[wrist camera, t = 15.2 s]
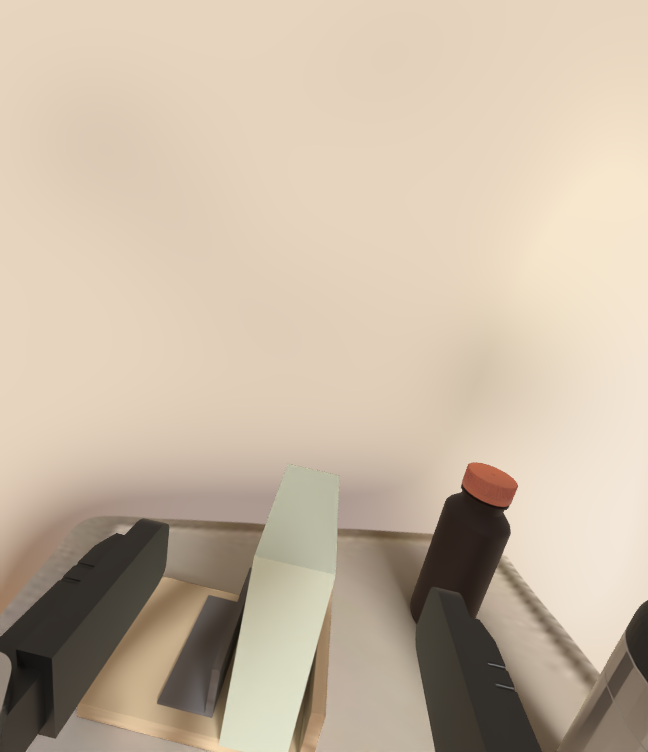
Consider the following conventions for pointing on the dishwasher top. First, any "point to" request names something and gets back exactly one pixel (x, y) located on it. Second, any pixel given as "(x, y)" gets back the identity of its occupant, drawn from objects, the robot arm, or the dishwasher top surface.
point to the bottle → (468, 539)
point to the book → (283, 613)
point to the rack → (191, 670)
